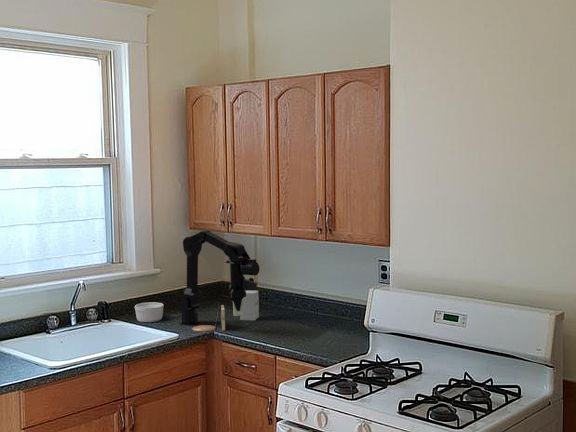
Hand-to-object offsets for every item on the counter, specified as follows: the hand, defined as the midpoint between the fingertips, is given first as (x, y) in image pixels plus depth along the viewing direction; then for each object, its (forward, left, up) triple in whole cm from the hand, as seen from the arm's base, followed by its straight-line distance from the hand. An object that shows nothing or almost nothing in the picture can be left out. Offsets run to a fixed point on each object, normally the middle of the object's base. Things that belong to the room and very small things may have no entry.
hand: (238, 310), depth 321 cm
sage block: (0, 0, -2) cm, 2 cm away
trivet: (-17, -1, -9) cm, 19 cm away
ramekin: (-50, +7, -10) cm, 52 cm away
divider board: (-9, +3, -9) cm, 13 cm away
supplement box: (-6, +23, -9) cm, 26 cm away
